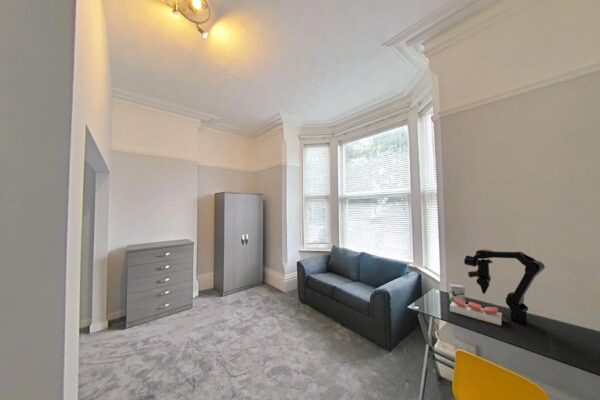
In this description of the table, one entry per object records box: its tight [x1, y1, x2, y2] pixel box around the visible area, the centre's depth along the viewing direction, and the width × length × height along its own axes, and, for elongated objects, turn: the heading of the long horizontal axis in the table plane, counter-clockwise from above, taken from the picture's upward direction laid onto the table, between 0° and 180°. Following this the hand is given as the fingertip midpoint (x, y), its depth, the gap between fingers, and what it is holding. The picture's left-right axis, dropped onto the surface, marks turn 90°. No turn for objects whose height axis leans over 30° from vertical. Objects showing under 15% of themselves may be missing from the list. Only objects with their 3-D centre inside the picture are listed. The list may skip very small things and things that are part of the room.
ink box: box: [448, 283, 466, 303], centre depth 157 cm, size 9×5×12 cm, turn 73°
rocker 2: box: [467, 301, 482, 311], centre depth 138 cm, size 6×6×2 cm
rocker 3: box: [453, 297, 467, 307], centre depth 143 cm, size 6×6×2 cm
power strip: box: [449, 301, 509, 326], centre depth 137 cm, size 28×9×4 cm, turn 44°
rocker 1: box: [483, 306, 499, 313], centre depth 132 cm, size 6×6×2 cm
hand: (484, 291), depth 145 cm, fingers open, 9 cm apart
